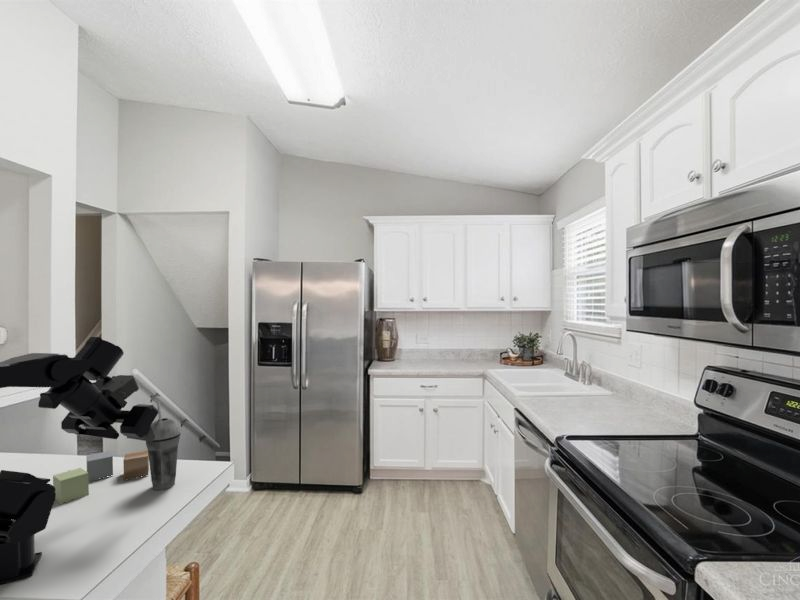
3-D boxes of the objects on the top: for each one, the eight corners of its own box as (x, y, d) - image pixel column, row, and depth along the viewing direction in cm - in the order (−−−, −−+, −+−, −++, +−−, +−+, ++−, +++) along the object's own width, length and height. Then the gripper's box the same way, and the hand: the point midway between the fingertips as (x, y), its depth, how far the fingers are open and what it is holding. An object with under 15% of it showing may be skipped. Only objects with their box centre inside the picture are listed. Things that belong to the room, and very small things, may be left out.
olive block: (88, 495, 93) (88, 472, 93) (60, 504, 88) (60, 480, 88) (80, 489, 95) (80, 467, 95) (53, 497, 91) (53, 475, 91)
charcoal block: (113, 476, 102) (112, 456, 102) (87, 482, 99) (87, 461, 99) (111, 470, 106) (110, 450, 106) (86, 475, 103) (86, 455, 103)
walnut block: (148, 476, 102) (147, 455, 102) (123, 480, 100) (123, 460, 100) (148, 468, 106) (148, 449, 106) (125, 473, 104) (125, 453, 104)
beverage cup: (188, 480, 99) (187, 397, 99) (163, 494, 92) (162, 404, 92) (164, 477, 101) (162, 395, 101) (137, 491, 94) (136, 403, 94)
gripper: (150, 365, 82) (191, 406, 92) (74, 363, 86) (122, 403, 97) (115, 416, 74) (164, 455, 85) (33, 412, 78) (90, 449, 89)
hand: (135, 438), depth 89 cm, fingers open, 9 cm apart
